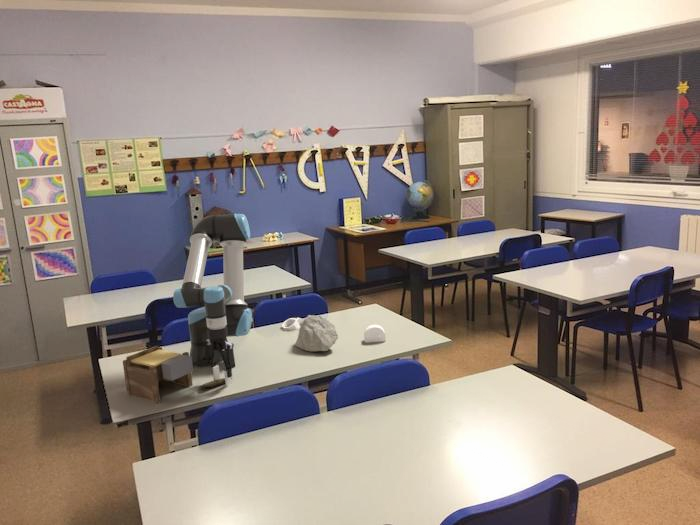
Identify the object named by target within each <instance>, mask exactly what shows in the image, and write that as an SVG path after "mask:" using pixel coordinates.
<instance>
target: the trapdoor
mask: <svg viewBox="0 0 700 525" xmlns="http://www.w3.org/2000/svg"><path fill="white" fill-rule="evenodd" d="M131 362H133V363H137V364H142V365H146V366H158V365H160V364H161V365H162V372H163V379H167V380H171V381H173V380H175V379H178V378H180V377H182V376H184V375H186V374H189V373H191V374H192V373H193V372H194V366H193V364H192V356H187V355H182V353H179V352H175V351H169V350H163V349H162V350H156V351H153V352H151V353H148V354H146V355H143V356H141V357H138V358H135V359H133V360H131Z"/></svg>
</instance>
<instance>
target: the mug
mask: <svg viewBox="0 0 700 525" xmlns="http://www.w3.org/2000/svg"><path fill="white" fill-rule="evenodd" d="M304 320H305V318H301V317H291V318H288V319H286V320H285V321H283V322H282V325H281V327H282V329H283V330H285V331H295V330H297V329H300V327H301V325H302V323H303V321H304ZM299 321H300V323H299ZM300 324H301V325H300Z"/></svg>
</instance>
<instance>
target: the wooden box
mask: <svg viewBox="0 0 700 525" xmlns="http://www.w3.org/2000/svg"><path fill="white" fill-rule="evenodd" d="M156 350H163V347H162V346H158V345H154V346H153V347H149V348H147V349H144V350H141V351H139V352H137V353H134V354H131V355H128V356H126V359H123V360H122V366H123V372H124V380H125V387H126V394H127V396H132V397H136V398H139V399H142V400H145V401H149V402H153V403H154V404H159V403H161V396H160V389H159V388H160V387H159V382H161V381H166V382H171V383H173V384H178V385H182V386H186V387H187V388H191V387H192V386H193V376H192V372H191V373H189V374H186V375H184V376H182V377H180V378H178V379H175V380H173V381H171V380H167V379H163V372H162V365H161V364H160V365H158V366H146V365H142V364H137V363H133V362H131V360H133V359H135V358H138V357H141V356H143V355H146V354H148V353H151V352H153V351H156ZM181 355H187V356H189V355H190V351H189V352H187V351H185V352H182V353H181Z"/></svg>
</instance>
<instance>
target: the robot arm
mask: <svg viewBox="0 0 700 525" xmlns="http://www.w3.org/2000/svg"><path fill="white" fill-rule="evenodd" d="M250 239H251V230H250V225H249V221H248V219H247V216H246V215H245V214H243V213H227V214H211V215H208V216H205V217H204V218H202V219H201V220H200V221H199V222H198V223H197V224H196V225H195V226H194V227H193V229H192V232H191V233H190V236H189V243H190V249H189V253H188V256H187V257H188V258H187V261H186V266H185V269H184V270H185V271H184V274H183V280H182V284H181V288H177V289H175V291H174V292H173V296H172V298H173V299H172V300H173V303H174V306H175V307H176V308H181V309H182V308H185V309H188V308H196V309H194V310H192V311H191V312H189V313H188V315H187V317H188V318H187V320H188V322H187V324H188V330H189V338H190V349H189V356H192V364H193V367H207V366H210V367H211V373H212V377H213V378H212V379H213V381H214V380H218V379H221V376H220V365H219V363H221V362H223V364H224V368H225V369H224V370H223V371H224V372H223V373H224V378H225V383H224V384H225V387H228V386H231V385H233V371H232V369H235V368H236V361H235V355H234V346H235V345H234V343H230V342H229V341H228V339H227V338H229V337H240V336H241V337H242V336H243V337H244V336H246V335H249V333H250V331H251V328H252V322H253V321H252V320H253V315H252V313H253V312H252V309H251V308H249V307H248V306H249V305H248V303H247V302H245V291H244V290H245V288H244V287H245V286H244V285H245V284H244V282H245V281H244V247H245V246H246V245H247V240H250ZM213 242H219V245H220V246H221V247H222V250H223V251H222V252H223V253H222V254H223V255H222V256H223V263H222V264H223V267H222V268H223V284H219V285H216V286H210V287H202V284H203V279H204V274H205V269H206V263H207V258H208V253H209V249H210V248H211V246H212V244H213ZM197 307H199V308H197ZM231 378H232V379H231Z"/></svg>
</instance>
